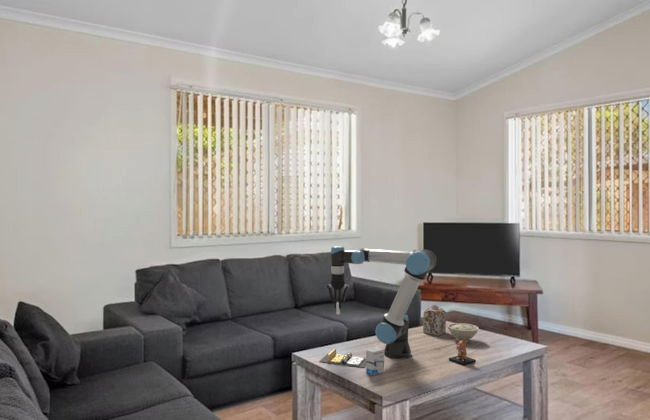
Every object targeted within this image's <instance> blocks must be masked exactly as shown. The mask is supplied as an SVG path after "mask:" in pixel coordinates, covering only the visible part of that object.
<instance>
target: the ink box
mask: <svg viewBox="0 0 650 420" xmlns="http://www.w3.org/2000/svg"><path fill="white" fill-rule="evenodd" d="M384 349H385V348H381V347H377V346H376V347H372V348H369V349H366V350H365V351H366V352H365V353H366V355H365V356H366V357H365V358H366V366H365V371H366V372H365V373H366V374H368V375H371V376H374V375H375V376H376V375H378V374H384V373H385V355H384Z"/></svg>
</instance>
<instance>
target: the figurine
mask: <svg viewBox="0 0 650 420" xmlns="http://www.w3.org/2000/svg"><path fill="white" fill-rule="evenodd" d="M466 344H467V342H466V341H460V339H459V342H458V341H457V344H456V347H455V350H456V351H458V352H457V355H455V356H451V357H448V361H449V362H451V361H452V363H454V362H455V363H454V364H458V365H460V366H463V367H465V366H467V365H472V364H475V362H477V360H476V359H474V358H471V357H469V356H467V355H468V354H467V353H468V352H467V348H466V347H467V346H466Z"/></svg>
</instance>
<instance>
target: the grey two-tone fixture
mask: <svg viewBox="0 0 650 420" xmlns="http://www.w3.org/2000/svg"><path fill="white" fill-rule="evenodd" d="M328 354H329V353H327V354H326V355H325V356H323V357H322V358H321V359H320V360H319V361H318V362H319V363H322V364H332V365H340V366H345V365H346V363H347V362H348V361H349V360H350V359H348V361H347V362H346V363H345V364H342V363H340V364H339V363H331V362H328ZM363 358H364V360H363V362H362V363H361V364H360V365H359V366H354V365H346V366H347V367H355V368H360V369H361V368H362V369H365V368H366V357H363Z"/></svg>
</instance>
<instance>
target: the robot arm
mask: <svg viewBox="0 0 650 420" xmlns="http://www.w3.org/2000/svg"><path fill="white" fill-rule="evenodd" d="M330 259H331V260H330V268H331V269H330V273H331V274H330V277H331V278H330V279H331V280H330V283H329V284H327V285H326V288H327V289H328V293H329V297H330V300H331V302H332V303H334V309H336V311H335V313H336V315H337V316H339V315H340V314H341V309H342V304H343V303H344V302H345V301H346V297H347V293H348V290H349V287H350V286H349V285H348V284H346V282H345V264H350V265H351V264H352V265H353V264H354V265H362V264H364V262H367V263H370V262H371V263H380V264H394V265H403V266H405V267H404V269H403V271H404V274H405V275H404V276H403V280H402V281H401V284H400V285H399V288H398V290H397V292H396V295H395V297H394V299H393V301H392V304H391V305H390V308H389V310H388V312H387V313H384V314H383V316H382V317H383V318H382V319H381V321H380V323H378V324H377V325H376V328H375V336H376V338H377V340H378V341H380V342H381V343H383V344H384V345H385V346H384V348H383V349H384V356H386V357H388V358H391V359H408V358H410V357H411V356H412V350H411V346H410V344H409V322H410V321H409V316H408V314H407V311H408V310H409V308H410V305H411V303H412V301H413V299H414V297H415V294H416V292H417V289H418V288H419V285H420V284H421V282H423V281H425V279H426V277H427V275H428V273H429V272H430V271H431V270H433V269H434V268H435V266H436V265H437V256H436V255H435V253H434V252H433V251H431V250H430V249H413V250H412V251H410V250H409V251H406V250H393V249H375V248H374V249H373V248H367V247H364V248H358V249H353V250H352V249H351V250H350V249H345V247H344V246H341V245H337V246H335V245H334V246H331V248H330ZM332 288H333V289H332ZM343 288H344V290H343ZM333 292H334V293H333ZM342 293H343V294H342Z"/></svg>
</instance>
